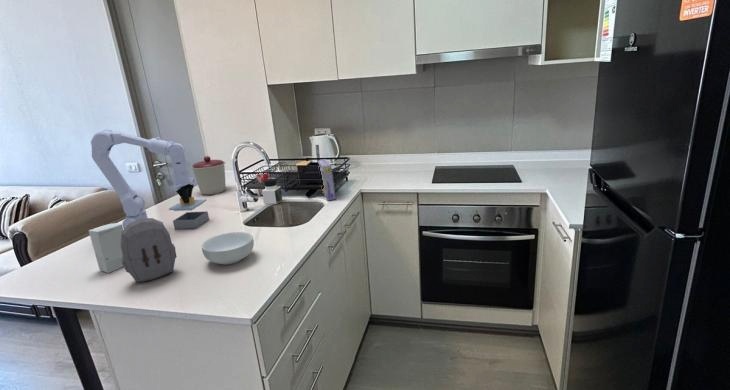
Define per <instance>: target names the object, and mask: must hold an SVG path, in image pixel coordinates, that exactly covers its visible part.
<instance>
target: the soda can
mask: <svg viewBox="0 0 730 390" xmlns="http://www.w3.org/2000/svg"><path fill="white" fill-rule="evenodd" d="M258 173H259V172H257V173H256V181H257V180H258V182H260V183H261V182H264V180H265V179H268V178H271V176H270V173H269V172H268V173H264V174H263V173H259V174H258ZM257 190H258V194H259V195H260V194H261V195H260V196H262V190H263V189H258V188H257Z"/></svg>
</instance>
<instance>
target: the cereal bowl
mask: <svg viewBox="0 0 730 390" xmlns="http://www.w3.org/2000/svg"><path fill="white" fill-rule="evenodd" d="M254 244H255V240H254V236H253V235H252V234H251V233H249V232H246V231H234V232H232V231H231V232H225V233H221V234H218V235H215V236H212V237H210V238H208V239H206V240H205V241H203V242H202V244H201V251H202V252H201V253H202V254H203V257H204V258H205V259H206V260H207V261H208V262H210V263H213V264H219V265H223V266H224V265H228V266H229V265H232V264H236V263H239V262H240V261H241V260H243V259H244V258H246V257H247V256H248V255H250V254H251V253H252V250H253V248H254Z"/></svg>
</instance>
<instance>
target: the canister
mask: <svg viewBox="0 0 730 390" xmlns="http://www.w3.org/2000/svg"><path fill="white" fill-rule="evenodd" d="M225 164H226V161H223V160H222V159H212V158H211V157H210V156H209V155H207V156H206V155H205V156H204V157H203V160H202V161H198V162H195V163H193V164H192V165H191V166H190V169H192V171H193V175H194V178H195V182H196V184H197V186H198V189H199V191H200V193H201V194H202V195H205V196H206V195H207V196H213V195H217V194H220V193H221V194H222V192H224V191H225V190H226V186H227V184H226V183H227V182H226V170H225V169H226V167H225Z"/></svg>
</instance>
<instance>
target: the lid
mask: <svg viewBox="0 0 730 390" xmlns="http://www.w3.org/2000/svg"><path fill="white" fill-rule="evenodd" d="M205 202H207V199H205V198H204V199H201V198H200V199H195V196H192V197H189V203H184V202H183V200H182V199H181V197H180V198H179V202H178V203H176V204H175V205H173V206H171V207H169V208H168V211H174V212H181V211H182V212H183V211H186V212H188V211H193V210H194V209H196V208H198V207H200V206H202V205H203V204H204V203H205Z"/></svg>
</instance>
